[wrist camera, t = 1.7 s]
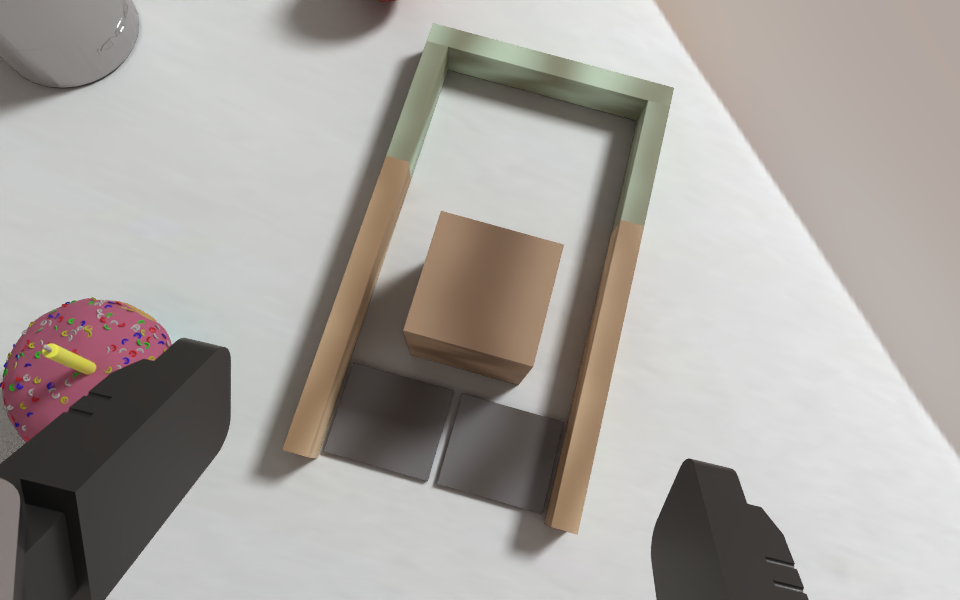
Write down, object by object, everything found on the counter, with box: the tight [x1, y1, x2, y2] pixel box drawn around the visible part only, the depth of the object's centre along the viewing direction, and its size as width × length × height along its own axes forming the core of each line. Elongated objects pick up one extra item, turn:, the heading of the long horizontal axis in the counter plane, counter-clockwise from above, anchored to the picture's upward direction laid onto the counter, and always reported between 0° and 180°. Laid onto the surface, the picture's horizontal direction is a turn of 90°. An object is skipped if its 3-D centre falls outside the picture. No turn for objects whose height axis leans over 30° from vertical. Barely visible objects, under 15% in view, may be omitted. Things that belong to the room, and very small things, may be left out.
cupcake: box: [0, 297, 172, 442], centre depth 32 cm, size 9×8×12 cm
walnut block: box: [403, 211, 564, 385], centre depth 37 cm, size 7×7×7 cm
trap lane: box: [282, 23, 674, 534], centre depth 40 cm, size 17×30×2 cm, turn 165°
